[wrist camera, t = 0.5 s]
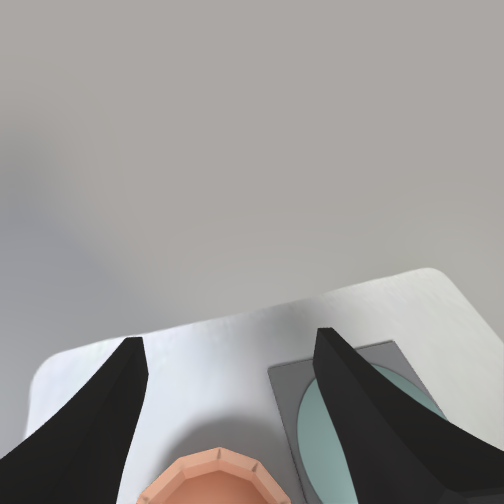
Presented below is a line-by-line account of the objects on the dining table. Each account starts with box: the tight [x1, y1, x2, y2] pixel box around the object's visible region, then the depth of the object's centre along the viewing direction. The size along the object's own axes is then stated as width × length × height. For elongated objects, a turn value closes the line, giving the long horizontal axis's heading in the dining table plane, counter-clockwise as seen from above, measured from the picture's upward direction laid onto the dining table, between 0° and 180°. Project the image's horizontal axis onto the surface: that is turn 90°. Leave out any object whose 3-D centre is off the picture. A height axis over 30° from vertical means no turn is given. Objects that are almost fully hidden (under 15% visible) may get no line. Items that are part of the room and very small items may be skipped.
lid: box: [297, 364, 447, 504], centre depth 26 cm, size 15×15×5 cm
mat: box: [268, 341, 448, 504], centre depth 28 cm, size 18×16×1 cm
